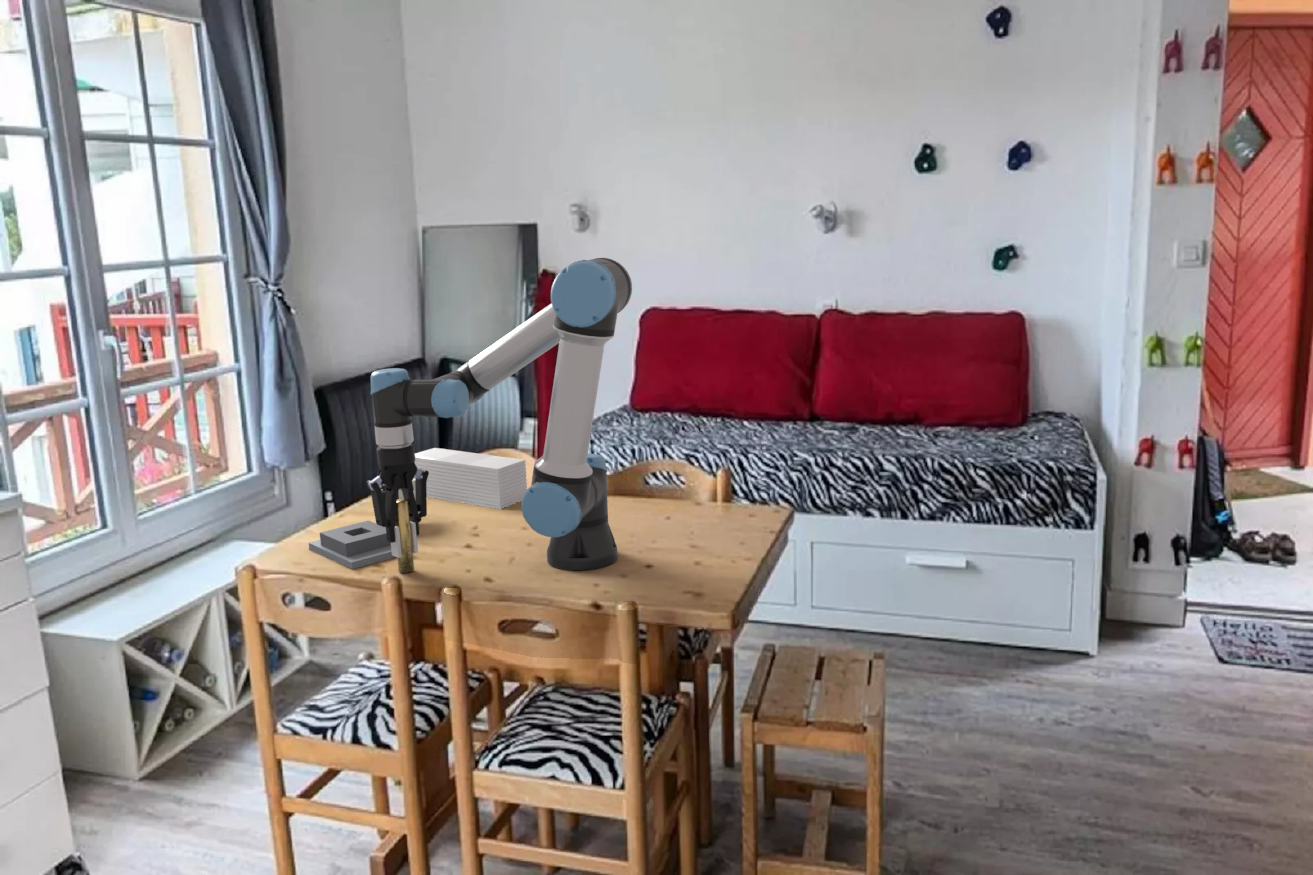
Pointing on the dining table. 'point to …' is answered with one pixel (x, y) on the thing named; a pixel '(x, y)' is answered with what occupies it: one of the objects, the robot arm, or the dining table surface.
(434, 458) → the stack of papers
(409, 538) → the brass pin
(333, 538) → the grey socket base
